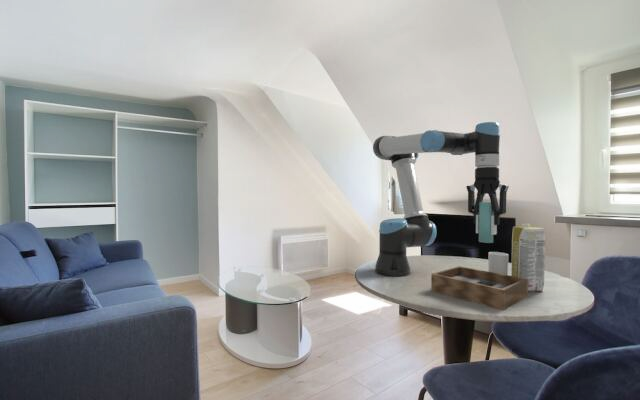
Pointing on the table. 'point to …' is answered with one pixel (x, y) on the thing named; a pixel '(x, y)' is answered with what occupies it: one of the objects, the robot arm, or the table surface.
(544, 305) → the table surface
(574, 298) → the table surface
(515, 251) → the juice carton
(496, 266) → the mug
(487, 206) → the peg
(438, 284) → the crate
